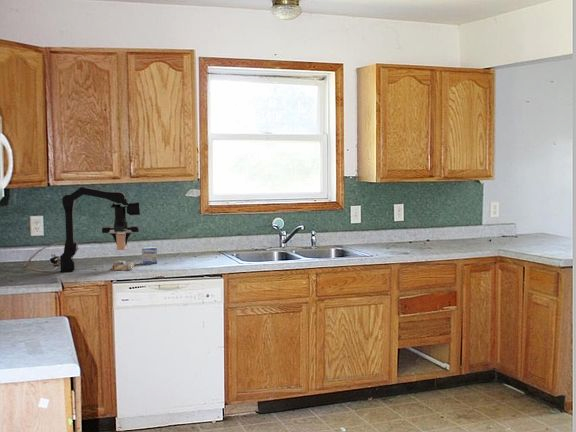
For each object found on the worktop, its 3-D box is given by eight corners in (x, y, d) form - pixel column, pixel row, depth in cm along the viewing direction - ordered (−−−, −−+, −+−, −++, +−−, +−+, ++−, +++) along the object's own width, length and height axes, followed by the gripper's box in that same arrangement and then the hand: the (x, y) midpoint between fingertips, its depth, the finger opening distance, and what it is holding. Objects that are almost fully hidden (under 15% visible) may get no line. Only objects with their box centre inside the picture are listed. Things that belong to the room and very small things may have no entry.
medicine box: (142, 264, 372) (142, 248, 371) (142, 263, 376) (141, 247, 375) (157, 263, 374) (157, 247, 373) (156, 262, 378) (156, 246, 377)
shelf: (111, 271, 354) (111, 266, 354) (115, 267, 365) (115, 262, 365) (131, 270, 355) (130, 265, 354) (134, 266, 366) (134, 261, 365)
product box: (118, 247, 362) (118, 232, 361) (126, 247, 362) (125, 232, 361) (116, 250, 355) (116, 234, 354) (124, 249, 355) (124, 234, 354)
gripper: (99, 218, 348) (100, 248, 350) (136, 217, 350) (138, 247, 351) (102, 215, 359) (104, 245, 361) (139, 214, 361) (140, 244, 362)
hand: (121, 245), depth 358 cm, fingers closed on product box, 4 cm apart
